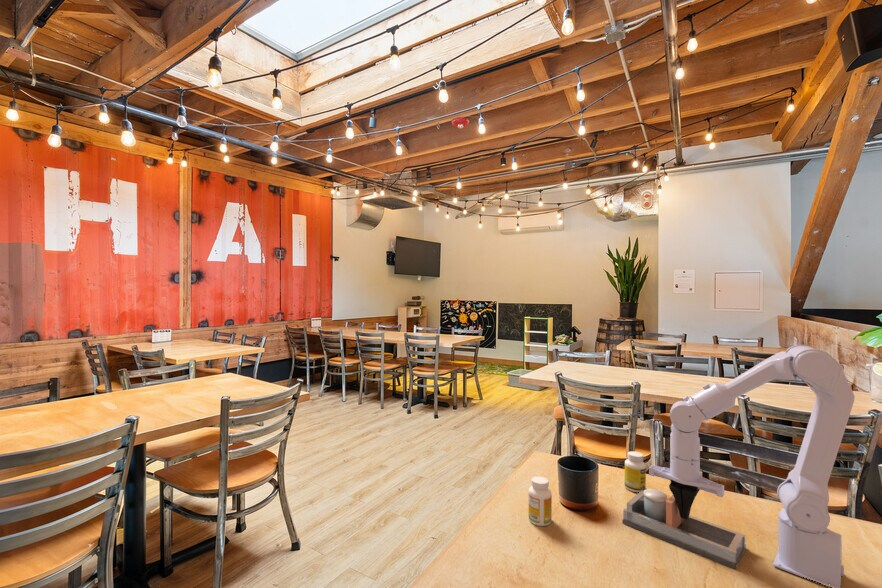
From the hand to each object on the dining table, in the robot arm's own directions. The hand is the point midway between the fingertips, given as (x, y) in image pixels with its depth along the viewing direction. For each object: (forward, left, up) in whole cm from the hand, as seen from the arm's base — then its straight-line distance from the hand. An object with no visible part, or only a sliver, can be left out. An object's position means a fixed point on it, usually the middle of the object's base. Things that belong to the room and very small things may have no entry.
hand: (684, 516), depth 90 cm
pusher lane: (+1, 0, -4) cm, 4 cm away
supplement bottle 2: (+17, -16, -5) cm, 23 cm away
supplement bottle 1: (+26, +18, -5) cm, 32 cm away
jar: (+6, 0, -4) cm, 7 cm away
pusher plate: (+2, 0, -3) cm, 4 cm away
